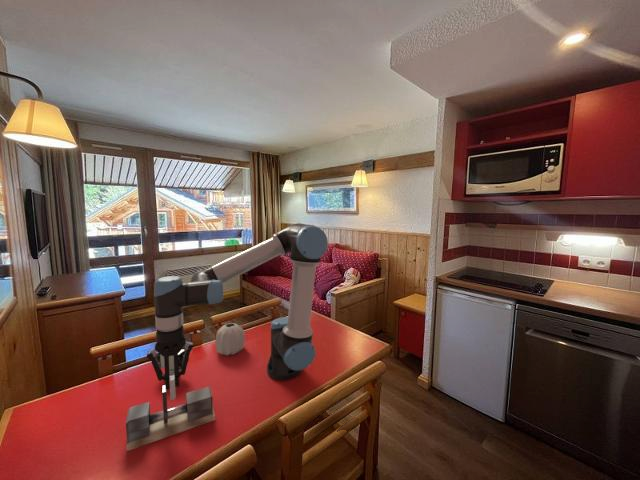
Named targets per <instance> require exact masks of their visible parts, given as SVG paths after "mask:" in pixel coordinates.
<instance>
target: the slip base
mask: <svg viewBox="0 0 640 480" xmlns="http://www.w3.org/2000/svg"><path fill="white" fill-rule="evenodd" d="M185 397H186V400H185V401H186V403H187V412H188V413H185V414H182V415H179V416H176V417H173V418H170V419H168V423H166V424H164V421H161V422H158V423H154V424H151V425H149V415H150V414H151V409H150V408H151V406H150V401H148V402H147V401H146V402H145V403H140V404H137V405H134V406H130V408H128V410H127V414H126V418H125V419H126V420H125V430H126V431H125V433H126V452H129V451H131V450H134V449H137V448H140V447H142V446H145V445H148V444H152V443H154V442H157V441H159V440H162V439H165V438H168V437H171V436H174V435H176V434H179V433H182V432H185V431H189V430H191V429H193V428H197V427H199V426H202V425H204V424H208V423H210V422H213V421H216V413H215V410H214V406H213V394H212V389H211V386H210V385H209V386H206V387H202V388H199V389H195V390H193V391H188V392H186V394H185Z"/></svg>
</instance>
